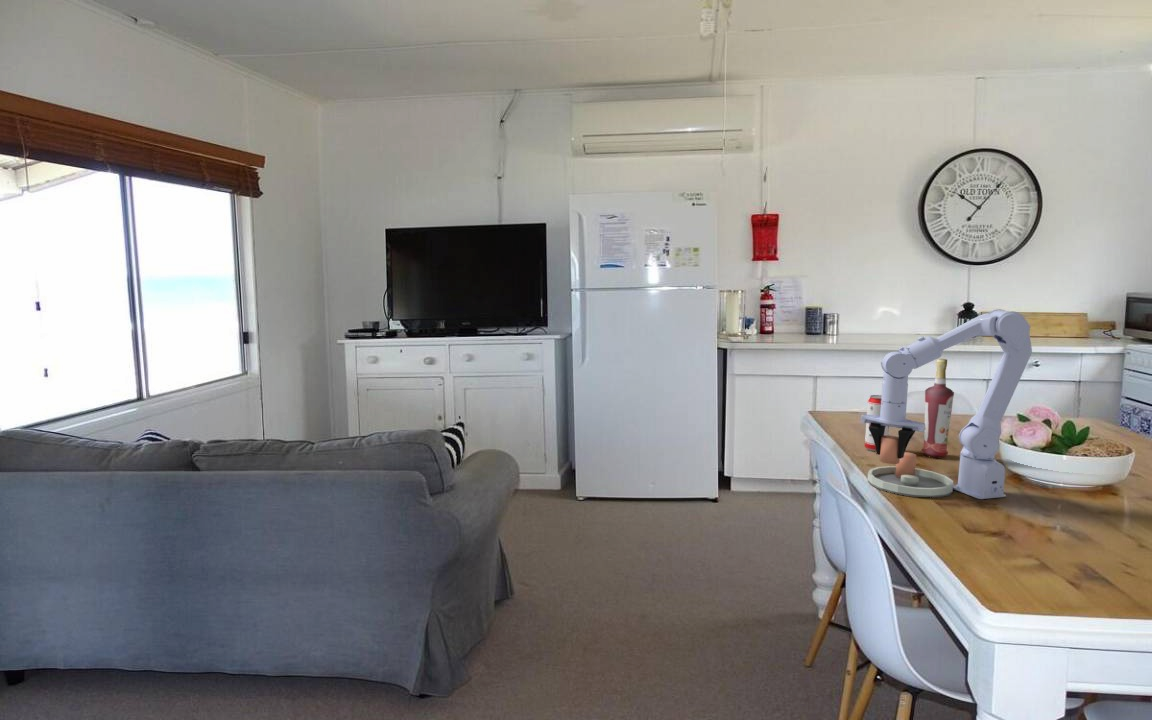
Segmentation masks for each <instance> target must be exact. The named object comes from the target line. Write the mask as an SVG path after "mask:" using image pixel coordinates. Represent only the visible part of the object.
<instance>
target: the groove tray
mask: <svg viewBox="0 0 1152 720" xmlns="http://www.w3.org/2000/svg"><path fill="white" fill-rule="evenodd" d="M895 474H896V465H895V466H891V465H887V466H886V465H885V466H877V467H873V468H870V469H869V470H868V472H867V483H868V484H869V485H870V486H871V487H873V488H875V489H876V490H879V489H880V491H882V490H884V491H883V492H885V491H887V492H886V493H889V492H891V493H890V494H892V493H895V494H894V495H897V494H899V495H898V496H902V495H904V496H903V497H909V496H910V498H918V497H930V498H929V499H935V498H934V497H939V498H945V497H948V496H951V495H952V493H953V490H954V489H953V485H954V480H953V479H951V478H950V477H949V476H947V475H944V474H941V473H938V472H935V471H932V470H927V469H922V468H916V467H915V476H913V475H901V479H900V478H897V477H896V476H895ZM931 497H932V498H931Z"/></svg>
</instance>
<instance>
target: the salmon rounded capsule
mask: <svg viewBox="0 0 1152 720" xmlns="http://www.w3.org/2000/svg"><path fill="white" fill-rule="evenodd" d="M916 465H917V454H915V453H913V452H909V451H907V452H906V451H905V453H904V457H903V458H901V459H900V461H899V463H898V464H895V466H896V474H895V476H896V477H897V478H900V479H901V475H913V476H915V468H916Z"/></svg>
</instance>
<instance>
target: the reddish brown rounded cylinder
mask: <svg viewBox="0 0 1152 720" xmlns="http://www.w3.org/2000/svg"><path fill="white" fill-rule="evenodd" d="M898 448H899V436H895V435H889V434H888V435H885V436H881V447H880V455H879V461H880V463H883V464H889V465H896V464H898V463H899V461H900V458H898Z"/></svg>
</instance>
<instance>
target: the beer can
mask: <svg viewBox="0 0 1152 720" xmlns="http://www.w3.org/2000/svg"><path fill="white" fill-rule="evenodd" d="M881 396H882V394H872V395H869V399H868V400H867V405H866V414H867V415H877V416H880V411H881ZM870 425H871V424H870V423H865V438H864V447H865V449H866V450H868V451H870V452H876V447H875V443H874V440H873V437H872V435H871V432H870V431H869V426H870ZM889 431H890V427H889V426H886V427H885V431H884V436H885V435H889Z"/></svg>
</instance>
